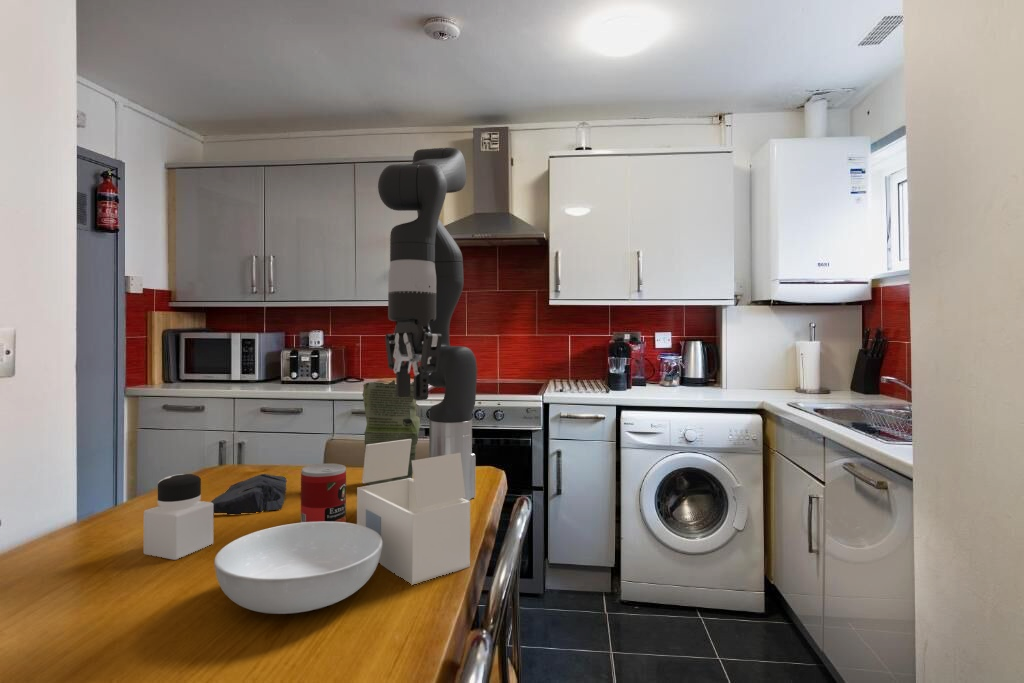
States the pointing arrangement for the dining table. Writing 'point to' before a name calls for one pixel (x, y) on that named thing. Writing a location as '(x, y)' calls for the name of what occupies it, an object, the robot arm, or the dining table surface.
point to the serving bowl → (298, 565)
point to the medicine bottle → (178, 519)
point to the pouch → (390, 419)
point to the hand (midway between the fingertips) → (411, 397)
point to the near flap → (438, 479)
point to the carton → (416, 530)
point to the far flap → (386, 460)
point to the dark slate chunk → (252, 495)
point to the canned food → (323, 493)
